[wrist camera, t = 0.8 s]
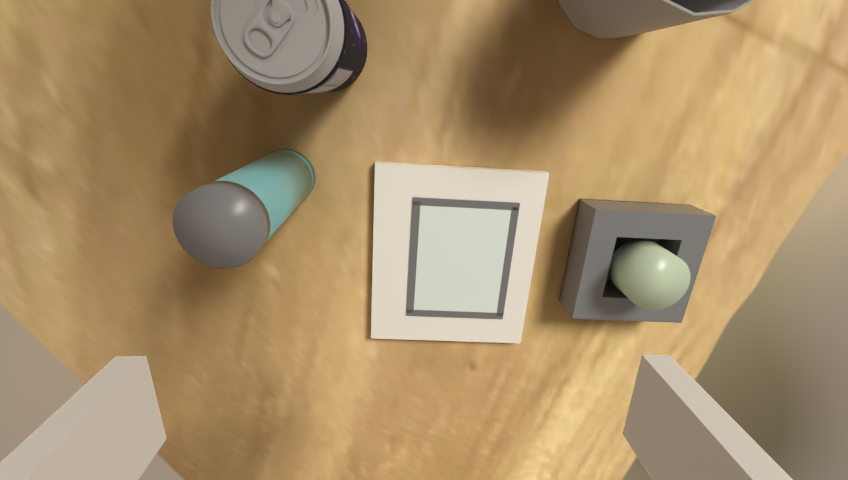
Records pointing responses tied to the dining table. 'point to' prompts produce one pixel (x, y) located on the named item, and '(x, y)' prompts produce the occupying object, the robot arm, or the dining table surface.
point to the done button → (649, 274)
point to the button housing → (612, 227)
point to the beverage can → (291, 43)
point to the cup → (641, 14)
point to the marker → (242, 209)
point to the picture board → (453, 251)
